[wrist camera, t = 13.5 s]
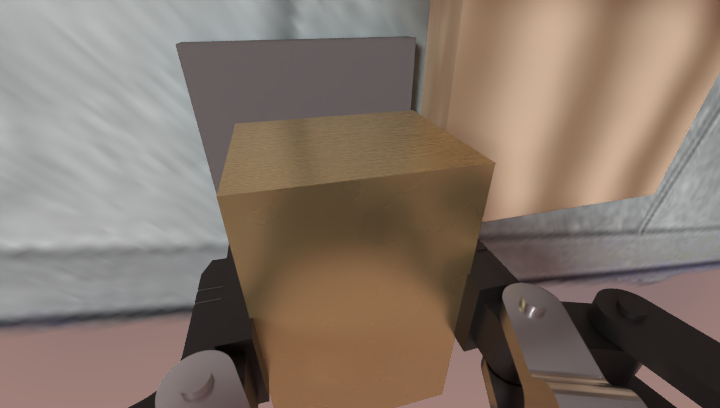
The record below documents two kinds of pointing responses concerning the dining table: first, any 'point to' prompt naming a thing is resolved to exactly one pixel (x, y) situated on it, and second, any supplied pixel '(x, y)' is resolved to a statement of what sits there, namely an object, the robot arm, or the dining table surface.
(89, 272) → the dining table surface
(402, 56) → the mat
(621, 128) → the base plate
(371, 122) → the brown rectangular block
